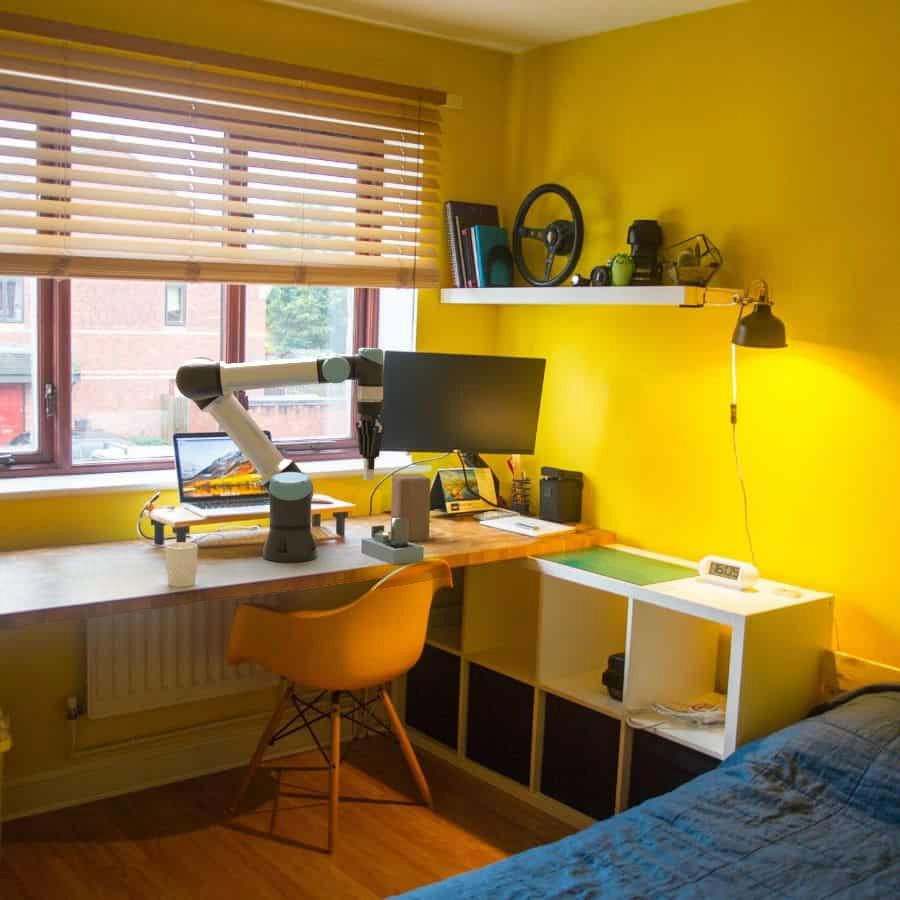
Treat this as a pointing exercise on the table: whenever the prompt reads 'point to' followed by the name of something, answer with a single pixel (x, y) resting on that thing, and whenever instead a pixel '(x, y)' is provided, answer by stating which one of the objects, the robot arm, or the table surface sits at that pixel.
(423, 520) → the wooden block
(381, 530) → the lock pin
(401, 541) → the spigot
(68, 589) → the table surface
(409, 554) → the mount
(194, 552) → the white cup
